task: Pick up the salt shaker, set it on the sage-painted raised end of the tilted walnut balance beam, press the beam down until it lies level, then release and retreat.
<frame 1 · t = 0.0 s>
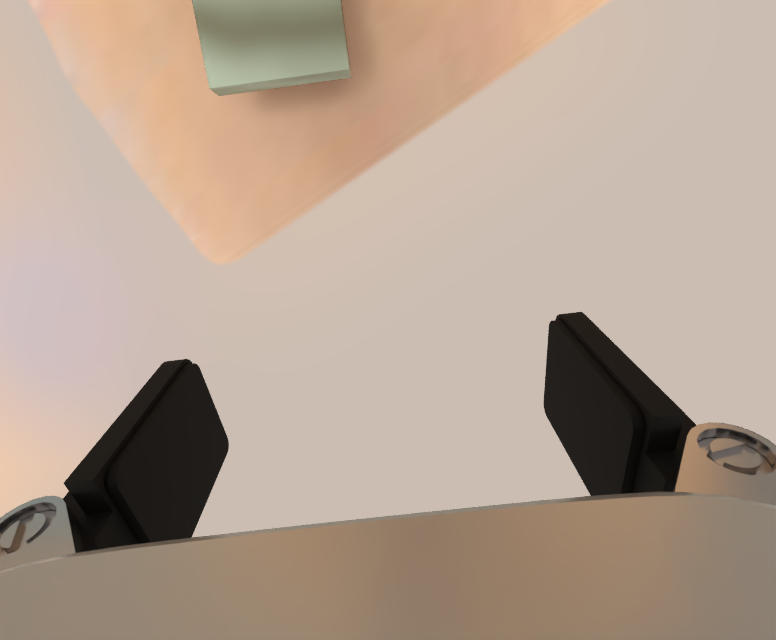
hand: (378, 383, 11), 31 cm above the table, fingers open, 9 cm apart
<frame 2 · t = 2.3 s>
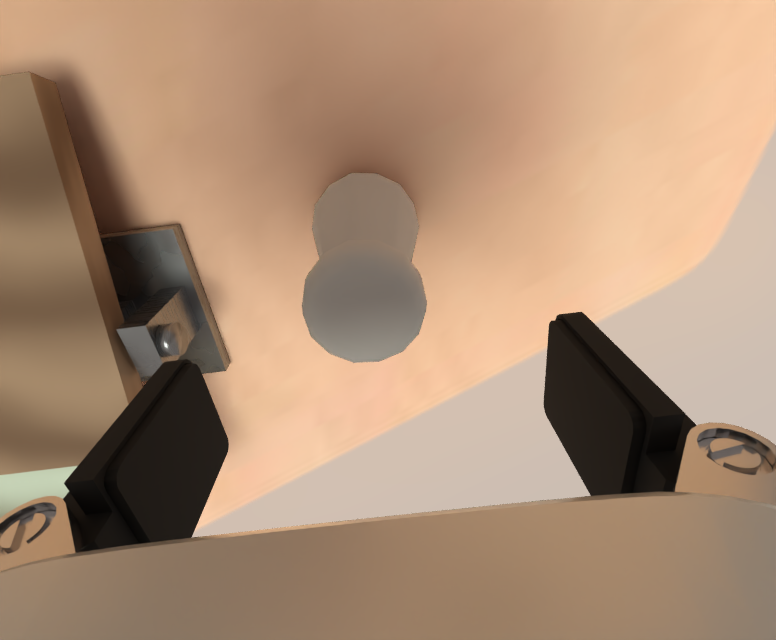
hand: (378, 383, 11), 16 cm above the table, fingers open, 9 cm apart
balance beam: (39, 359, 22), point 6 cm above the table, hinge at -15.0°
beam stand: (101, 313, 27), on the table
salt shaker: (365, 215, 25), on the table
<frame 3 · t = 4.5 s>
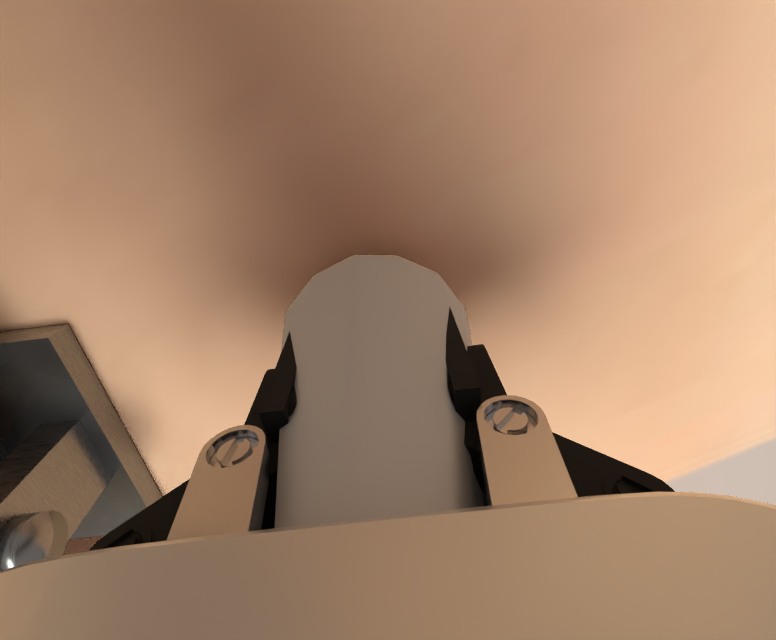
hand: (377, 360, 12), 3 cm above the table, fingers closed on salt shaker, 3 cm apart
salt shaker: (376, 309, 15), on the table, touching gripper
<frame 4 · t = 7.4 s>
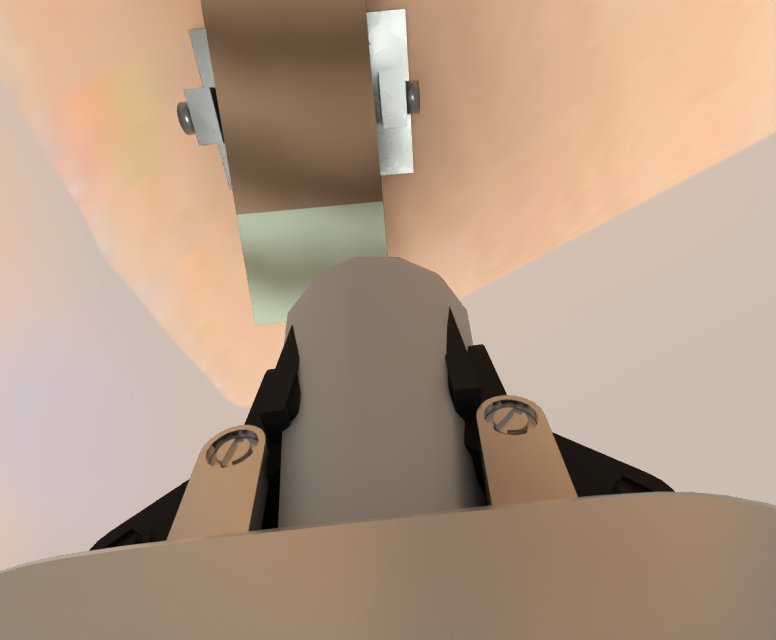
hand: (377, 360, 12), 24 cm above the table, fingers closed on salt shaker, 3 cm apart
balance beam: (298, 104, 24), point 6 cm above the table, hinge at -15.0°
beam stand: (311, 106, 30), on the table
salt shaker: (377, 310, 15), point 20 cm above the table, touching gripper
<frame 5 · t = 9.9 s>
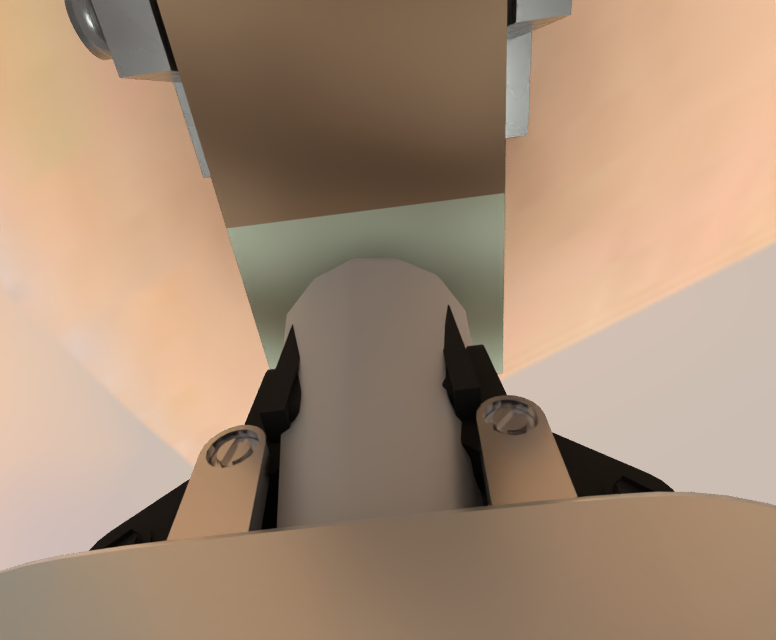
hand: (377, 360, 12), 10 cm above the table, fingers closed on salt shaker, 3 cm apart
beam stand: (345, 18, 16), on the table
salt shaker: (377, 311, 15), point 6 cm above the table, touching balance beam, gripper
when the fingers open (10 cm above the table, at t = 10.6 s): salt shaker stays where it is, resting on balance beam.
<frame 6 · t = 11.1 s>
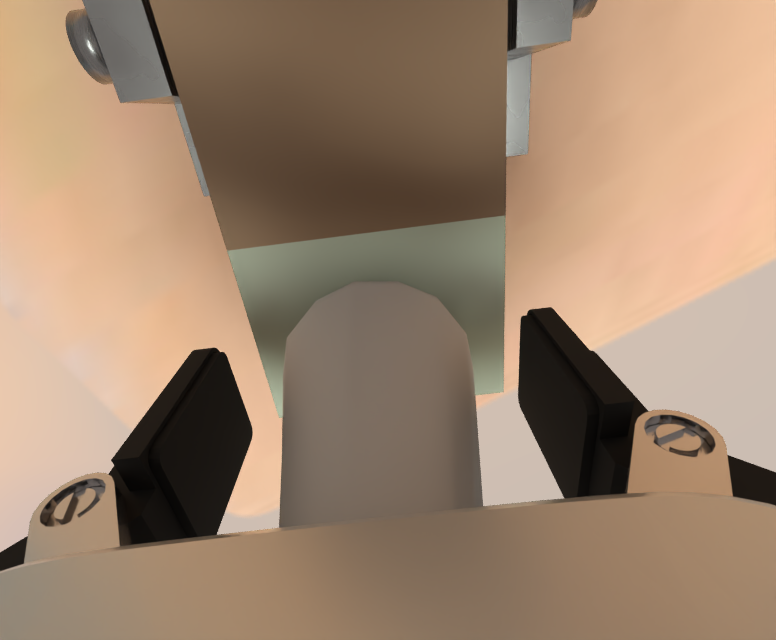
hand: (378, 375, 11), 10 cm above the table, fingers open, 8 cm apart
balance beam: (333, 8, 11), point 6 cm above the table, hinge at -0.1°, touching salt shaker
beam stand: (346, 39, 16), on the table
salt shaker: (377, 330, 15), point 6 cm above the table, touching balance beam
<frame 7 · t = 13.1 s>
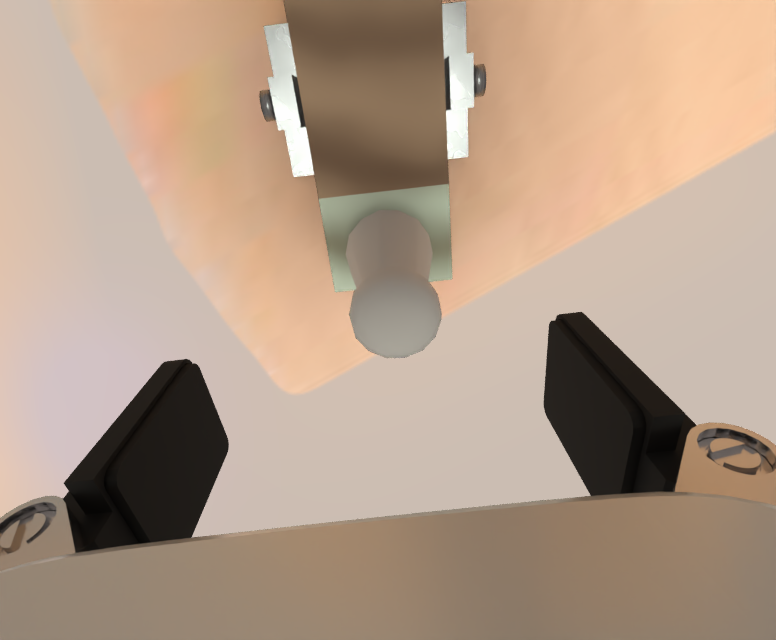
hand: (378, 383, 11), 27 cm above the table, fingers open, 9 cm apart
balance beam: (372, 92, 26), point 6 cm above the table, hinge at -0.1°, touching salt shaker
beam stand: (373, 96, 31), on the table
salt shaker: (387, 242, 30), point 6 cm above the table, touching balance beam
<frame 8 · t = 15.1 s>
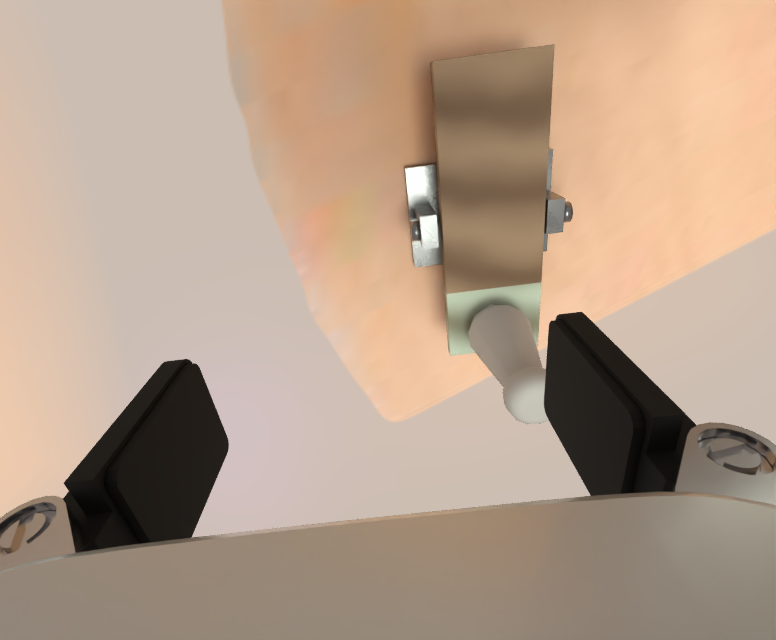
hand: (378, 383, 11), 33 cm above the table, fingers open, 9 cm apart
balance beam: (491, 223, 37), point 6 cm above the table, hinge at -0.1°, touching salt shaker
beam stand: (477, 209, 42), on the table
salt shaker: (492, 321, 41), point 6 cm above the table, touching balance beam
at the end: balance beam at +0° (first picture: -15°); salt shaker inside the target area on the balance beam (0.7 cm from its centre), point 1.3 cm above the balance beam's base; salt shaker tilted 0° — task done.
